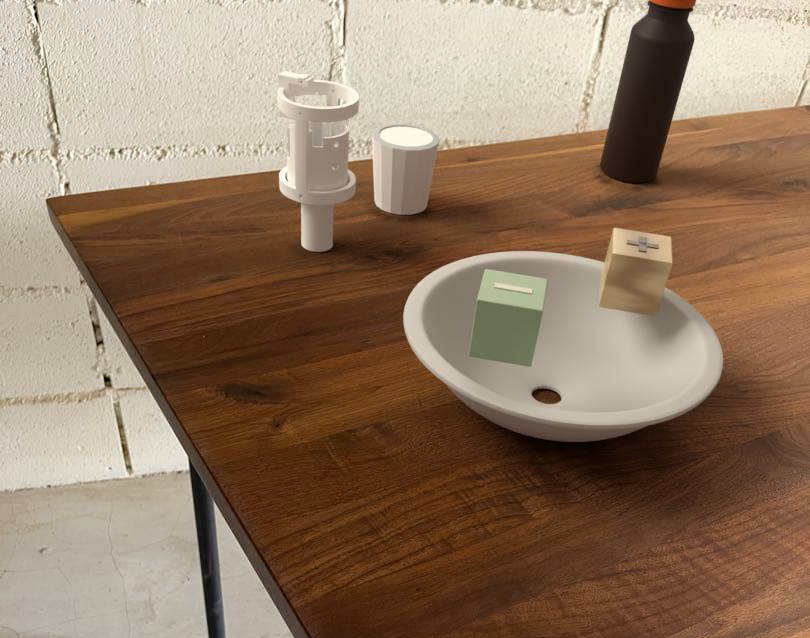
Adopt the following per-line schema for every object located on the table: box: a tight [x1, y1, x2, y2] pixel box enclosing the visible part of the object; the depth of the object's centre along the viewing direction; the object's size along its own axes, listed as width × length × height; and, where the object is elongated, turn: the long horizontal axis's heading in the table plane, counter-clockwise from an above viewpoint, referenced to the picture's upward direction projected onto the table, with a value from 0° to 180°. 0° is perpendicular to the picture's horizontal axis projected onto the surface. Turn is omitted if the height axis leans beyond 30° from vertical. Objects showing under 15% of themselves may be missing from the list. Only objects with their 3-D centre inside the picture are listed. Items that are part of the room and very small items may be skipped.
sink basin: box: [402, 250, 724, 443], centre depth 69 cm, size 24×24×7 cm
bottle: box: [599, 0, 697, 184], centre depth 98 cm, size 7×7×20 cm
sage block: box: [468, 269, 548, 367], centre depth 62 cm, size 4×4×5 cm
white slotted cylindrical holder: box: [276, 70, 360, 253], centre depth 81 cm, size 7×7×15 cm
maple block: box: [598, 227, 674, 316], centre depth 69 cm, size 4×4×5 cm
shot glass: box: [371, 123, 441, 216], centre depth 92 cm, size 7×7×7 cm
